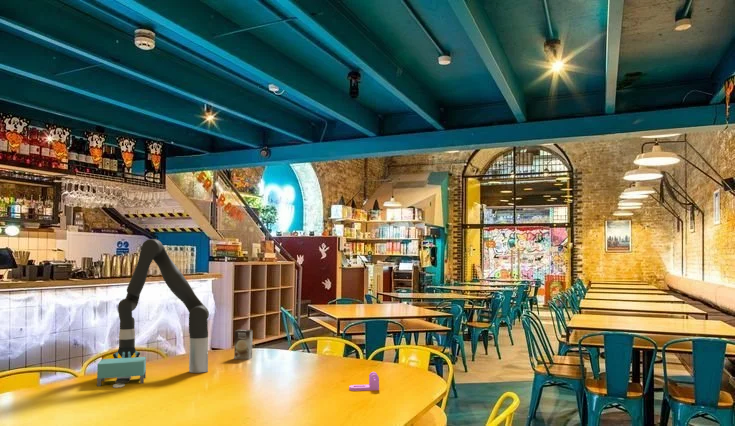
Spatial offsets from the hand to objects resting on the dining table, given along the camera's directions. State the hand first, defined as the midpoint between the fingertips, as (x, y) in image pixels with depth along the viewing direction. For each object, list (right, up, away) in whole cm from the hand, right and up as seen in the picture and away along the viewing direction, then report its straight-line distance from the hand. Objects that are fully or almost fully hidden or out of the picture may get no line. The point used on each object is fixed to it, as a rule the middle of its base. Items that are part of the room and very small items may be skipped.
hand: (126, 372), depth 301 cm
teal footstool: (+6, +1, -19) cm, 20 cm away
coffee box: (+51, -3, +39) cm, 65 cm away
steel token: (+8, +1, -29) cm, 30 cm away
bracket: (+121, +2, -37) cm, 126 cm away
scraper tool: (+2, 0, -8) cm, 8 cm away
